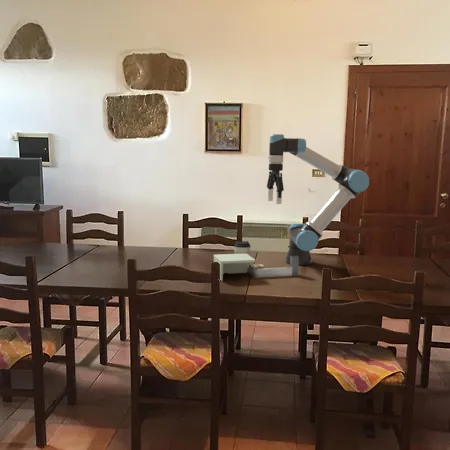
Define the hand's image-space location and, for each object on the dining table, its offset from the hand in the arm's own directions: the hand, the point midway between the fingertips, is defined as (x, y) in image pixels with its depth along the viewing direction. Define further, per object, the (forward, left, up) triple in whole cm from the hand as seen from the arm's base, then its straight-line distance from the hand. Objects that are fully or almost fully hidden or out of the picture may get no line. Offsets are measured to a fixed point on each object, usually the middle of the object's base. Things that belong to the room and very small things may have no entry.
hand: (274, 202), depth 280 cm
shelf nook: (+26, +14, -37) cm, 47 cm away
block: (+12, +12, -37) cm, 40 cm away
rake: (+4, +14, -37) cm, 40 cm away
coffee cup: (+17, -2, -37) cm, 41 cm away
